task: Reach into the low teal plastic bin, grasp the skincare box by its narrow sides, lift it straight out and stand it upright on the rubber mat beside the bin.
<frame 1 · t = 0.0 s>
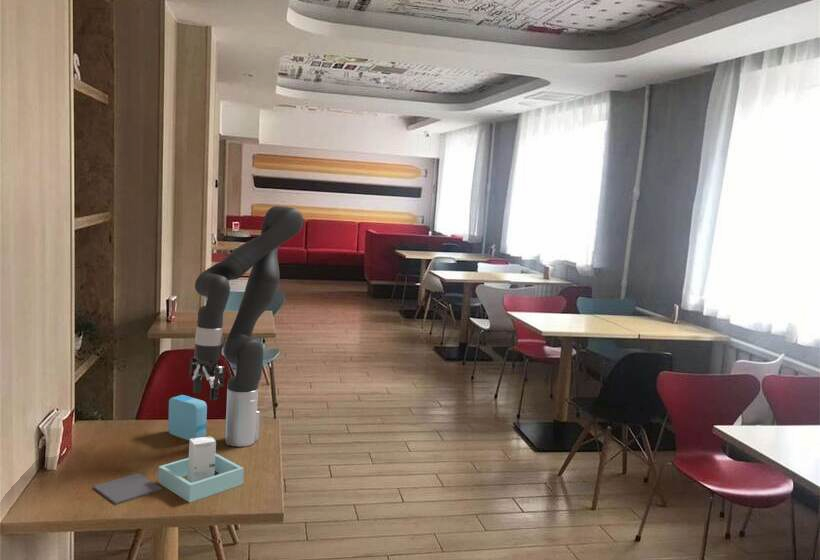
hand: (205, 396, 193), 17 cm above the table, tool pointing down, fingers open, 8 cm apart
mat: (127, 489, 169), on the table
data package: (186, 436, 207), on the table
bin: (201, 483, 176), on the table
skincare box: (200, 484, 176), resting in bin
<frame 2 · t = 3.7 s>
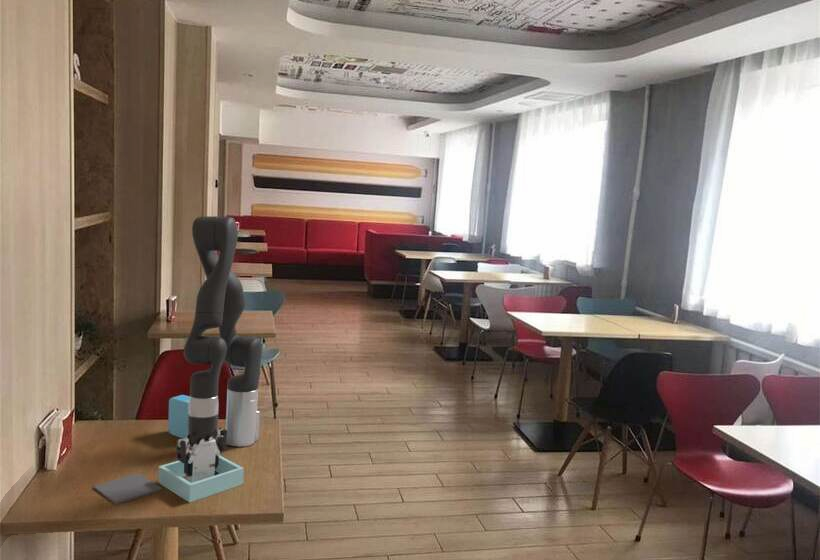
hand: (201, 471, 175), 3 cm above the table, tool pointing down, fingers closed on skincare box, 7 cm apart
skincare box: (201, 484, 176), resting in bin, touching gripper
everything else where it was.
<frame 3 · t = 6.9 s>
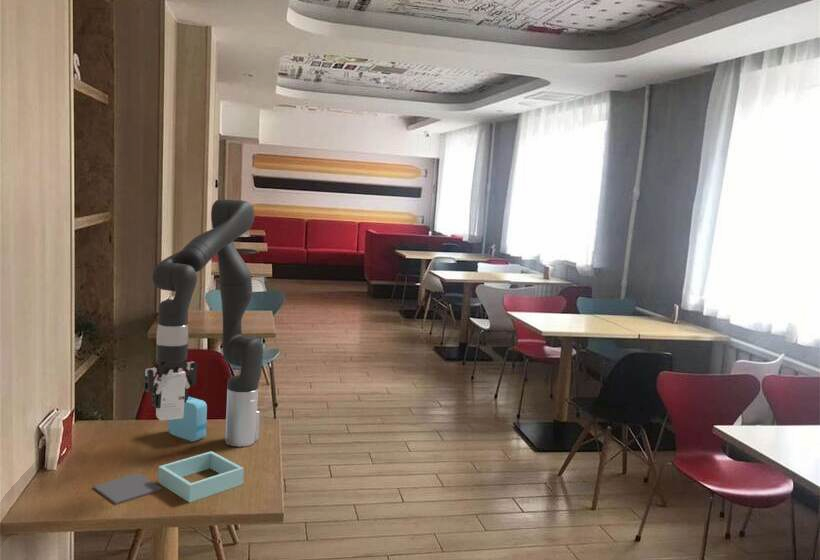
hand: (170, 404, 169), 22 cm above the table, tool pointing down, fingers closed on skincare box, 7 cm apart
skincare box: (169, 417, 170), point 19 cm above the table, touching gripper
everything else where it was.
when the fingers open (5 cm above the table, at t = 10.2 s): skincare box stays where it is, resting on mat.
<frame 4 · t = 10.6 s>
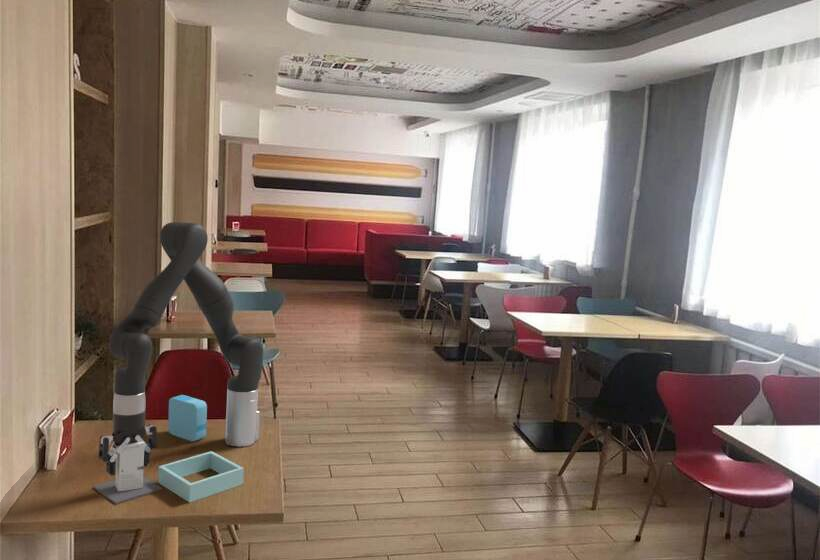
hand: (128, 470, 169), 5 cm above the table, tool pointing down, fingers open, 8 cm apart
skincare box: (129, 487, 170), resting on mat
everything else where it was.
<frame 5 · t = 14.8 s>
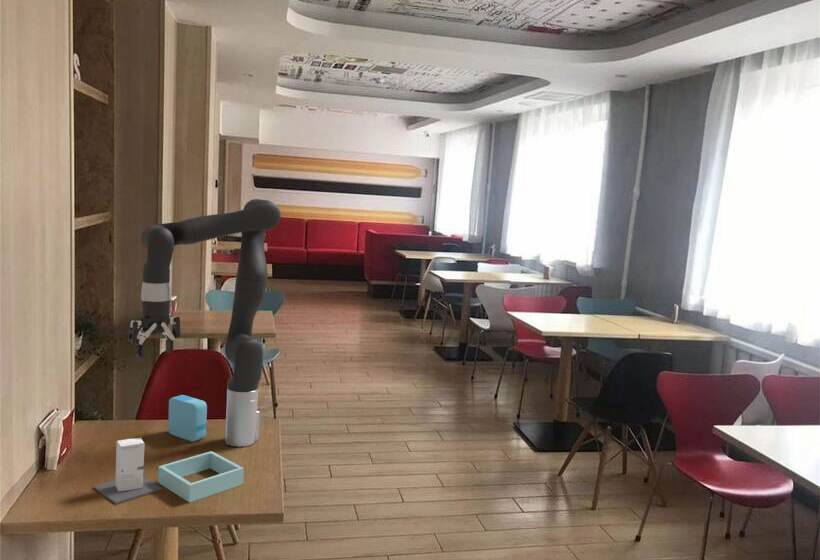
hand: (154, 354, 186), 30 cm above the table, tool pointing down, fingers open, 8 cm apart
nothing on the table moved.
at the end: skincare box inside the target area on the mat (0.4 cm from its centre), point 0.3 cm above the mat's base; skincare box tilted 0°; the gripper is holding nothing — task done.
